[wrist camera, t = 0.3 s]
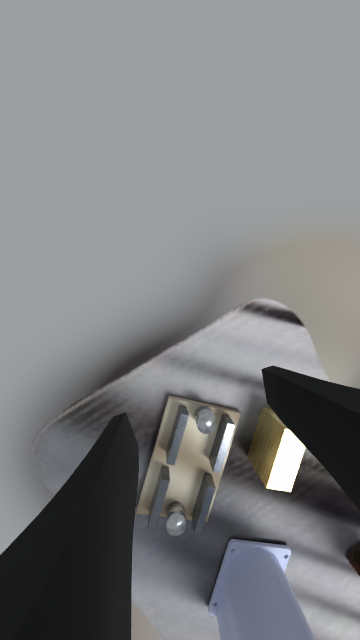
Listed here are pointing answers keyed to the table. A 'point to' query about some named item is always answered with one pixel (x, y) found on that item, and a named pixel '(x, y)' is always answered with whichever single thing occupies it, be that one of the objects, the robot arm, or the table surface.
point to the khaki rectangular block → (275, 452)
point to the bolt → (355, 558)
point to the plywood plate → (184, 458)
